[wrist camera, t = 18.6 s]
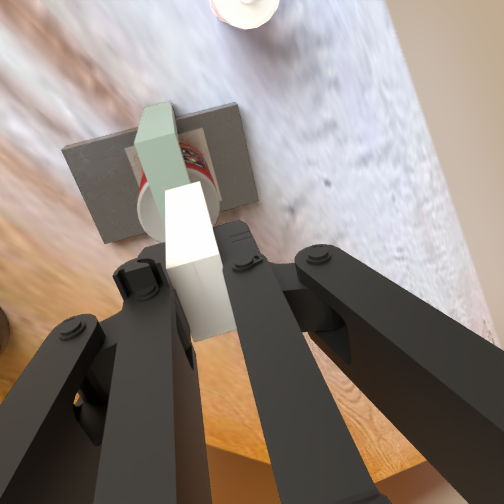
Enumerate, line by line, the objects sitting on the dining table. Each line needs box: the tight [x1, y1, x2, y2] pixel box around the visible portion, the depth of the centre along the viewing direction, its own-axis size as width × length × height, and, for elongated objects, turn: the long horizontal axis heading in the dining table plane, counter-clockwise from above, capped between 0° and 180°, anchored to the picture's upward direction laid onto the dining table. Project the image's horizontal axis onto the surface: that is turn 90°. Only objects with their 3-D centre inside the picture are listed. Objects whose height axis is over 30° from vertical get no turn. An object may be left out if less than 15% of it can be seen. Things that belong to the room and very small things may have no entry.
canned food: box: [137, 144, 220, 243], centre depth 42 cm, size 8×8×11 cm
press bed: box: [61, 102, 259, 244], centre depth 47 cm, size 20×12×2 cm, turn 103°
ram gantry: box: [134, 101, 191, 231], centre depth 40 cm, size 3×16×18 cm, turn 13°
